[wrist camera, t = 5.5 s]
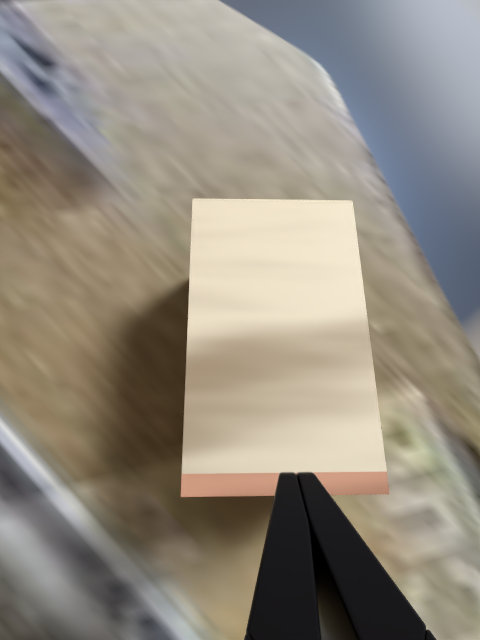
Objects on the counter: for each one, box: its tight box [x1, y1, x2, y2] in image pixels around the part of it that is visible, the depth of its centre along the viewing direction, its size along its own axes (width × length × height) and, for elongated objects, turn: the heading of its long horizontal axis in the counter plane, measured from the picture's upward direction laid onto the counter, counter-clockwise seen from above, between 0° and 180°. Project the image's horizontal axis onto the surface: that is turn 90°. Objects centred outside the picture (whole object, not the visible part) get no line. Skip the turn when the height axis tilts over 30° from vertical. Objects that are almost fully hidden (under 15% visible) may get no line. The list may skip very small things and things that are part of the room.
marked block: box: [181, 199, 389, 497], centre depth 14 cm, size 6×6×10 cm
